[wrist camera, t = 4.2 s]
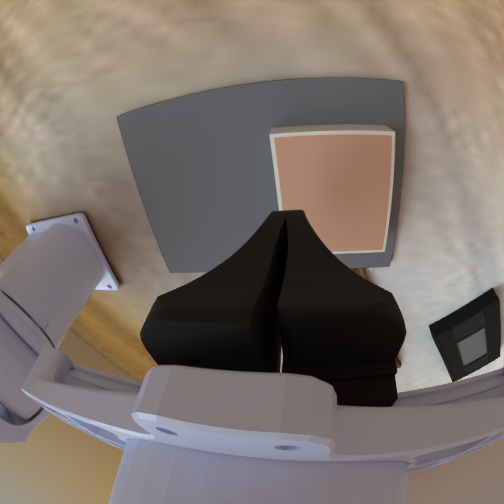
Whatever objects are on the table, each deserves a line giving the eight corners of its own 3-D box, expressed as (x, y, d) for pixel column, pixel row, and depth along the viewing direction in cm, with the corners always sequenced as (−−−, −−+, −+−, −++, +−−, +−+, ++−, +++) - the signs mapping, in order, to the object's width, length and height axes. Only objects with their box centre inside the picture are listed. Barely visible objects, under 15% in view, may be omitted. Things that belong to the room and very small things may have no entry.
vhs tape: (490, 283, 18) (499, 298, 16) (495, 344, 23) (500, 356, 21) (427, 321, 21) (432, 338, 20) (449, 370, 27) (452, 382, 25)
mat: (171, 269, 21) (169, 272, 20) (120, 115, 14) (116, 116, 13) (388, 262, 18) (389, 266, 17) (400, 81, 11) (403, 81, 10)
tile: (283, 256, 16) (384, 252, 15) (269, 134, 12) (395, 131, 11) (285, 239, 17) (378, 236, 16) (271, 128, 13) (385, 125, 12)
